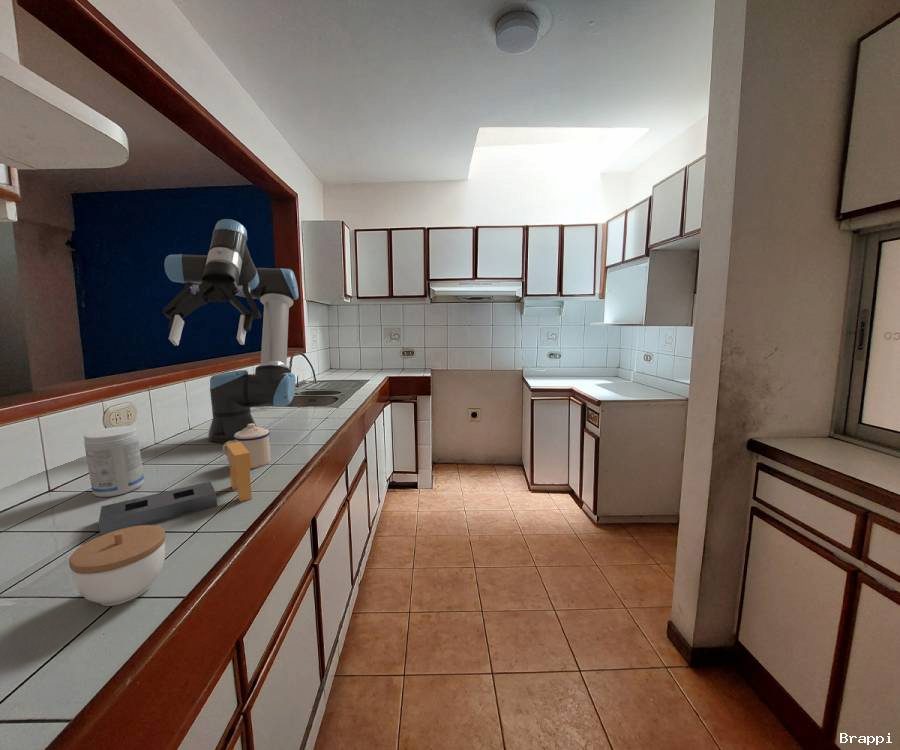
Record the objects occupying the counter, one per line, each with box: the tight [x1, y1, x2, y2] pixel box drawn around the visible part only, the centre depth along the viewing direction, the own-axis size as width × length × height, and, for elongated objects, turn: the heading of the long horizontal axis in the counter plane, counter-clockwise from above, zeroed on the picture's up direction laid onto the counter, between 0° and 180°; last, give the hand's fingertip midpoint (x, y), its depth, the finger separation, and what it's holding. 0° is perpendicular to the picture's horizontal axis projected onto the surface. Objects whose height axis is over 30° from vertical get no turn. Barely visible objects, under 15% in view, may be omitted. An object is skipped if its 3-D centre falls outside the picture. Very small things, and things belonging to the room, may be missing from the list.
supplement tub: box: [83, 425, 145, 498], centre depth 90 cm, size 10×10×15 cm
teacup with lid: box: [222, 423, 271, 469], centre depth 107 cm, size 12×9×12 cm
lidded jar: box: [68, 524, 167, 607], centre depth 56 cm, size 11×11×9 cm
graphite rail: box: [98, 480, 218, 537], centre depth 80 cm, size 8×19×3 cm, turn 130°
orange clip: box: [226, 442, 253, 503], centre depth 89 cm, size 10×3×11 cm, turn 40°
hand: (207, 342), depth 84 cm, fingers open, 13 cm apart
